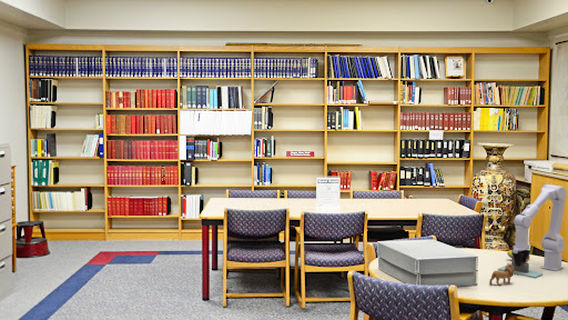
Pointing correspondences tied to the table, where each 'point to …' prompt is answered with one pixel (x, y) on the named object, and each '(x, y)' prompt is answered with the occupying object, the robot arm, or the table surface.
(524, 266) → the connector
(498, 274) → the lion figurine
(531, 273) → the desk mat
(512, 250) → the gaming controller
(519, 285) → the table surface
